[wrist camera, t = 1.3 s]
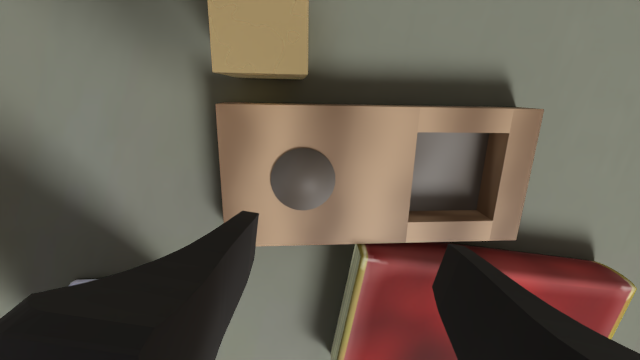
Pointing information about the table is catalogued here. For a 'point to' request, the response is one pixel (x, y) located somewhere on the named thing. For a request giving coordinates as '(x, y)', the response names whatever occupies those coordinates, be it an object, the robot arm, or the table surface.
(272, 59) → the brass peg
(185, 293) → the robot arm
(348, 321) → the hardcover book
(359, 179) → the bore block
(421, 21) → the table surface
